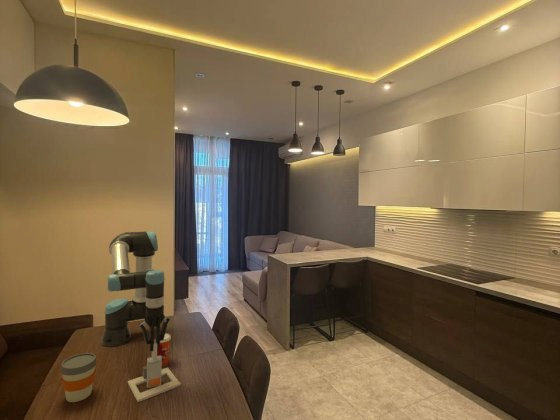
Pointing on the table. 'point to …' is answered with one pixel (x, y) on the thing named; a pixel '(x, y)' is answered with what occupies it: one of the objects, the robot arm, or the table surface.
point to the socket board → (152, 391)
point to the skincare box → (154, 371)
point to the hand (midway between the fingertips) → (154, 357)
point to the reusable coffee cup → (78, 376)
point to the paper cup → (164, 349)
